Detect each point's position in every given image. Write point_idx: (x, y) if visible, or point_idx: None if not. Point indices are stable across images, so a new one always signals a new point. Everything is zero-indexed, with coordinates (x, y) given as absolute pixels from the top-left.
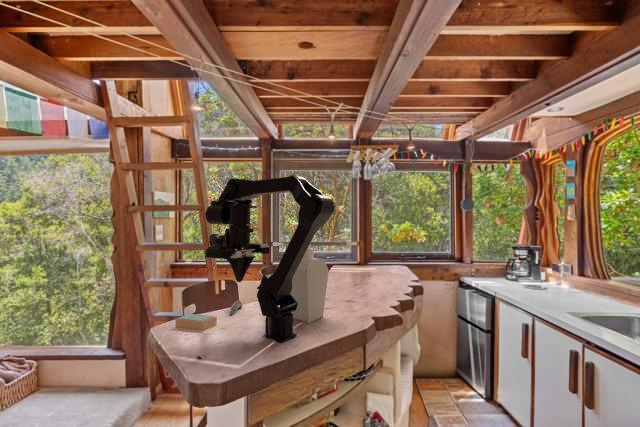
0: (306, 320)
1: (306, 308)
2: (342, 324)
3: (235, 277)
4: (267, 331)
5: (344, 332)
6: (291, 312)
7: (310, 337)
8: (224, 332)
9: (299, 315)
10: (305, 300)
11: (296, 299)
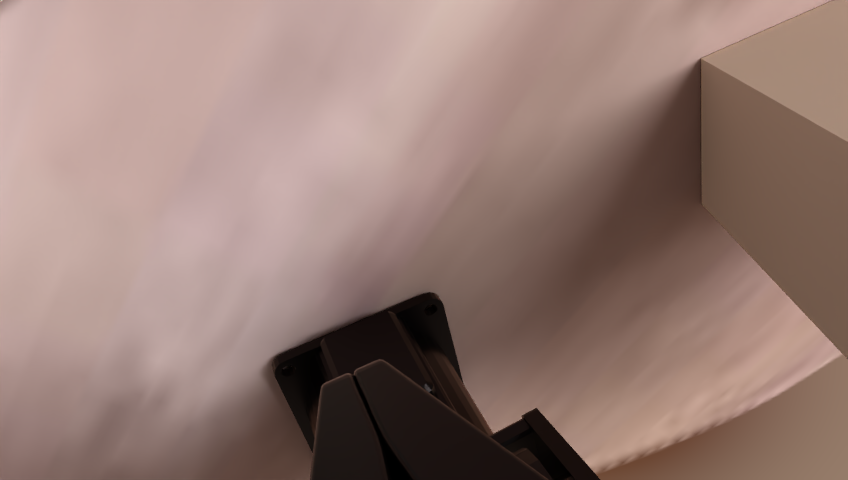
0: (710, 201)
1: (765, 262)
2: (769, 315)
3: (314, 460)
4: (324, 381)
5: (662, 420)
6: (739, 105)
7: (502, 428)
8: (51, 63)
9: (728, 166)
10: (811, 299)
11: (818, 225)
